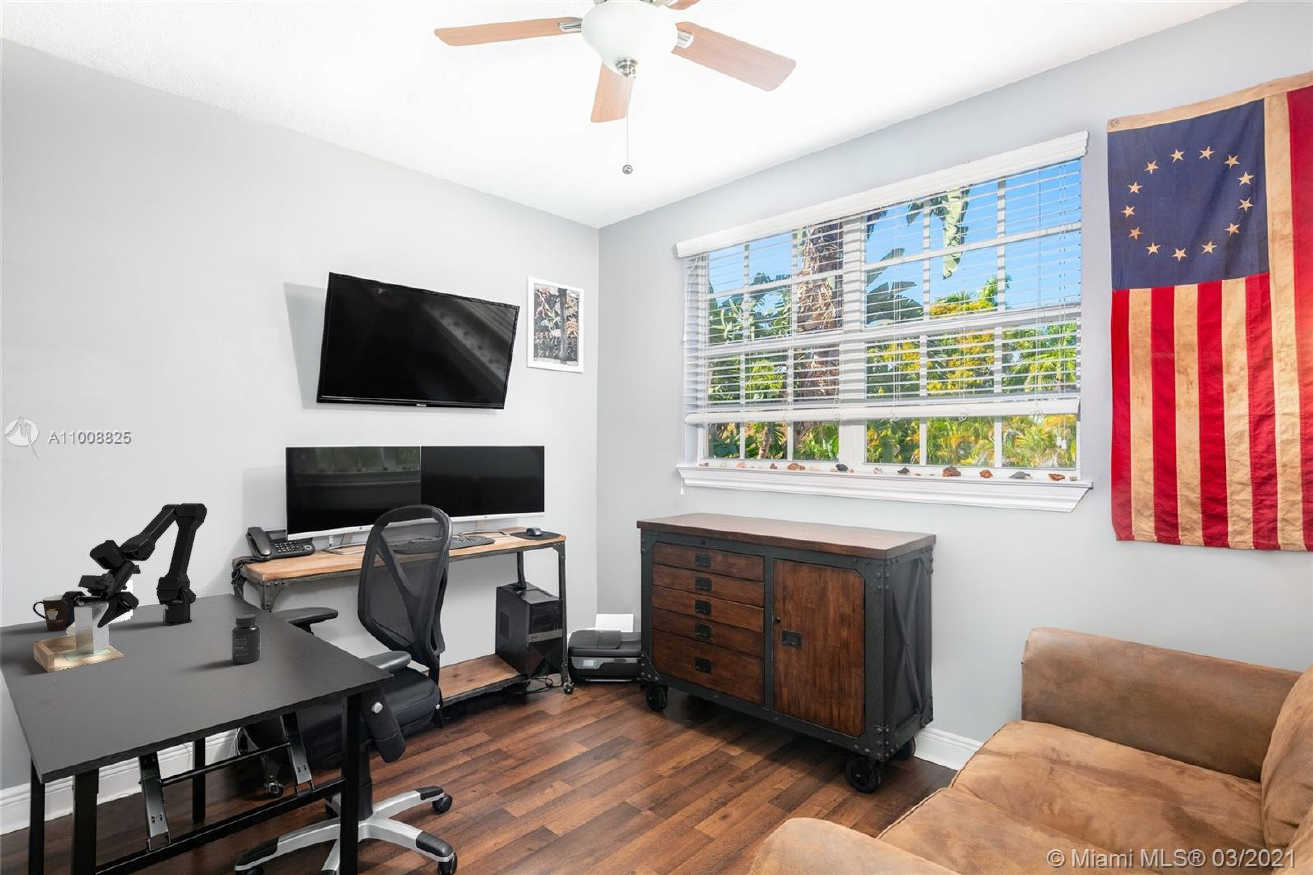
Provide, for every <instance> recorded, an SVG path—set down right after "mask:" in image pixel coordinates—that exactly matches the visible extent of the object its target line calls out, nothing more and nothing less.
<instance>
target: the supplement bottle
mask: <svg viewBox="0 0 1313 875" xmlns="http://www.w3.org/2000/svg"><path fill="white" fill-rule="evenodd" d="M257 622H258V621H257V614H254V613H253V614H251V613H250V614H241V615H238V616H236V617H235V623H234V624H235V627H233V629H232V630H231V636H230V638H231V647H230V648H231V655H230V656H231V663H232V664H233V665H234V664H235V665H243V664H251V663H253V662H257V661H259V660H260V658H261V657H262V656H261V654H262V651H261V650H262V649H261V648H262V644H261V643H262V641H261V640H262V638H261V635H262V632H261V631H262V630H261V626H260V625H259V624H257Z"/></svg>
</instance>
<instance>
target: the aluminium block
mask: <svg viewBox="0 0 1313 875" xmlns="http://www.w3.org/2000/svg"><path fill="white" fill-rule="evenodd" d="M107 609H108V607H107V602H89V603H86V604H83V605H80V606H77V607H74V613H75V634H76V654H95V653H97V652H99V651H102V650H104V649H106V648H109V645H110V634H109V630H110V629H109V624H106V625H104V626H103V627H101V628H98V627H97V625H98V623H99V621H100V619H101V618H102V616H103V615H104V613H105V611H106V610H107Z"/></svg>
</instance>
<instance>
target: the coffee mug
mask: <svg viewBox="0 0 1313 875" xmlns="http://www.w3.org/2000/svg"><path fill="white" fill-rule="evenodd" d="M64 594H65V593H63V594H57V595H52V596H47V597H46V596H45V597H43V598H42V600H41V601H36V602H34V603H33V606H32V611H33V612H34V614H36V615H37V616H38V617H40V618H42V619H44V620H45V623H46V630H47V632H53V633H54V632H64V631H66V630H67V628H66V627H65V626H64V624H65V620H66V616H67V612H68V605H67V604H66V603H65V602H64V601H63V600H62V599H61V598H62V596H63V595H64ZM38 604H42V605H43V611H44V615H43V614H41V613H39V612H38V610H37V609H36V607H37V605H38Z"/></svg>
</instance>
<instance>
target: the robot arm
mask: <svg viewBox="0 0 1313 875" xmlns="http://www.w3.org/2000/svg"><path fill="white" fill-rule="evenodd" d="M207 515H208V508H207V507H206V505H205V504H204V503H201V502H193V503H192V502H190V503H189V502H187V503H186V502H183V503H180V504H179V503H166V504H164V505H163V506H162V508H161V509H160V511H159V513H157V515H156V516H155V517H154V518H152V520H151V521H150V522H149V523H148V524H147V525H146V526H145V527H144V529H143V530H142V531H141V532H139V534H136V535H134V536H132V537H130V538H127V540H125V542H123V543H122V544H120V546H119V545H118V544H117V543H116V541H115V540H114V539H106V540H105V541H104V542H103V543H100V544H98V545H96V546H94V548H93V547H92V548H91V550H90V552H89V557H90V558H91V559H92V560H93V561H94V562H95V563H96V564H97V565H98V566H99V567H100V568H102V570H107V572H105V573H101V575H94V574H93V575H91V574H85V575H84V574H82V575H81V577H80V579H79V582H78V584H77V587H78V588H84V589H86V592H87V593H88V594H90V593H91V594H92V595H91V596H90V595H86V594H85V592H83V591H82V590H68V591H66V592H64V593H63V594H64V595H63V594H62V595H63V596H62V598H61V599H62V600H63V601H64V602H65V603H66V604H67V605H68V612H67V616H66V620H65V624H64V626H65V627H66V628H68V627H69V626H71V625H72V624H73V623H74V622H75V613H74V607H77V606H80V605H83V604H86V603H89V602H107V604H108V609H107V610H106V611H105V613H104V615H103V616H102V618H101V619H100V621H99V623H98V625H97V627H98V628H101V627H103V626H104V625H106V624H108V623H109V622H111V621H112V620H114V619H116V618H117V617H119V616H121V615H123V614H124V613H126V612H130V610H133V611H135V610H136V609H137V607H138V605H139V604H140V600H139V599H138V598H137V597H136V595H134V593H133V594H132V593H131V592H130V591H121V590H126V589H127V588H128V587H127V586H126V583H127V582H128V580H131V577H132V576H133V575H140V574H141V573H142V571H141V568H140V565H139V564H135V563H134V562H146V561H148V559H149V558H151V556H152V554H153V553H154V552H155V550H156V543H157V541H158V540H159V539H160V538H161V537H162V536H163V534H164V533H165V532H166V531H167V530H168V529H169V528H170V527H171V525H172V524H174V522H175V524H176V526H177V528H178V529H177V530H178V531H177V533H176V538H175V543H174V546H173V551H172V555H171V559H170V563H169V568H168V571H167V573H166V574H165V575H164V576H159V577H158V580H157V586H156V588H155V590H156V597H157V600H158V603H159V605H161V606H163V605H164V609H163V610H162V623H164V624H165V625H168V626H174V625H181V624H185V623H187V624H188V623H190V622H193V619H191V605H192V604H194V603H195V602H196V600H197V594H196V593H195V592H194V591H193V590H192V589H191V588H190V587H191V581H190V578H189V576H188V569H189V565H190V560H191V555H192V552H193V546H194V542H195V539H196V533H197V530H198V529H199V528H200V527H202V525H203V524H204V523H205V520H206V517H207ZM108 625H109V624H108Z"/></svg>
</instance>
